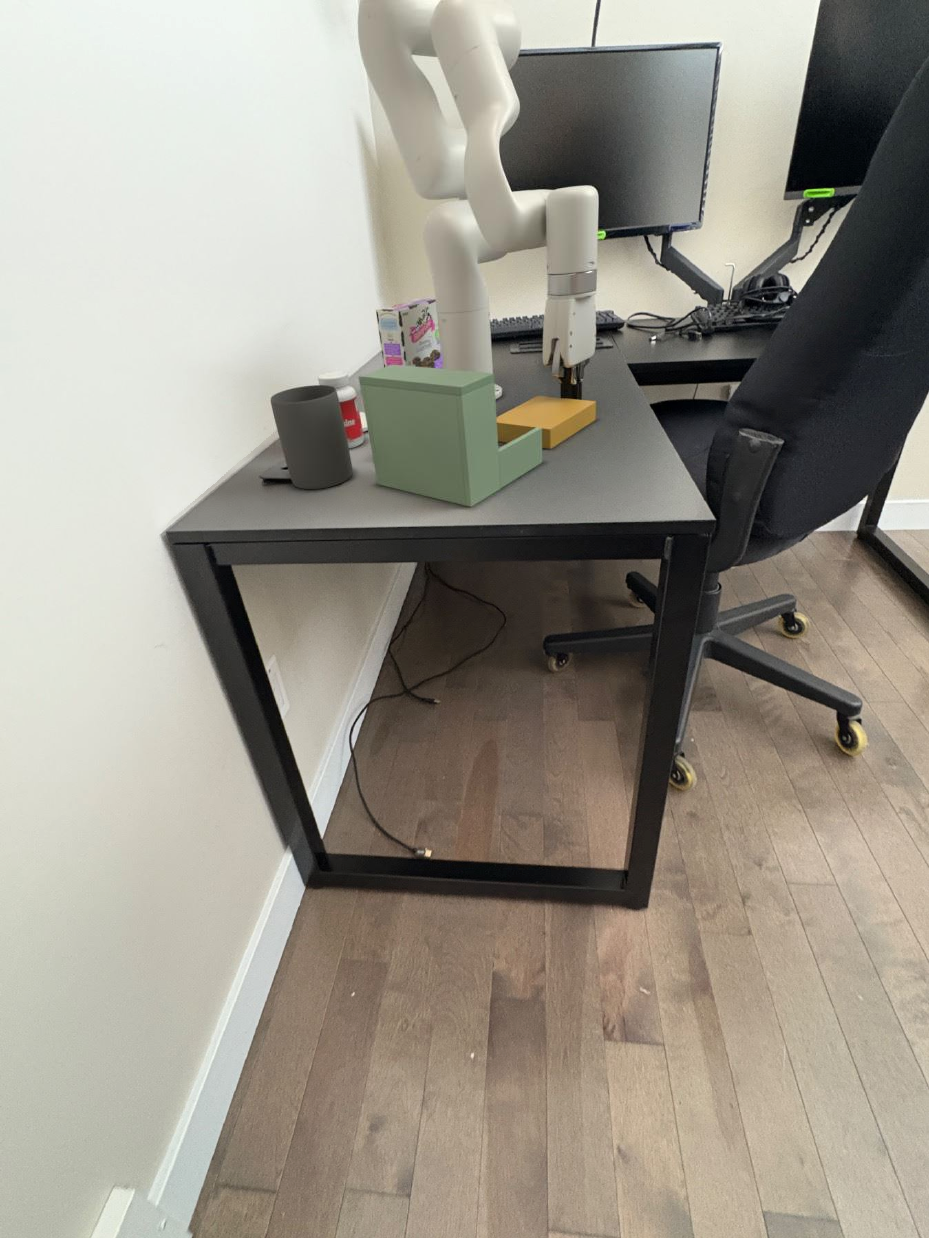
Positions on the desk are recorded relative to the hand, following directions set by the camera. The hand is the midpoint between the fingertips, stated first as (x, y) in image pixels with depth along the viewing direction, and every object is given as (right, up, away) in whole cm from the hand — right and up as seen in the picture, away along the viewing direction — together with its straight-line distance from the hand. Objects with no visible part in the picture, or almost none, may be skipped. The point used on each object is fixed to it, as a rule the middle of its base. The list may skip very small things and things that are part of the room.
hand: (571, 406), depth 102 cm
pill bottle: (-38, -7, -2) cm, 39 cm away
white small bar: (-39, 0, +8) cm, 40 cm away
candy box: (-28, +11, +23) cm, 37 cm away
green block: (-19, -16, -18) cm, 30 cm away
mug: (-41, -15, -13) cm, 45 cm away
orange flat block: (-5, -6, -5) cm, 9 cm away
